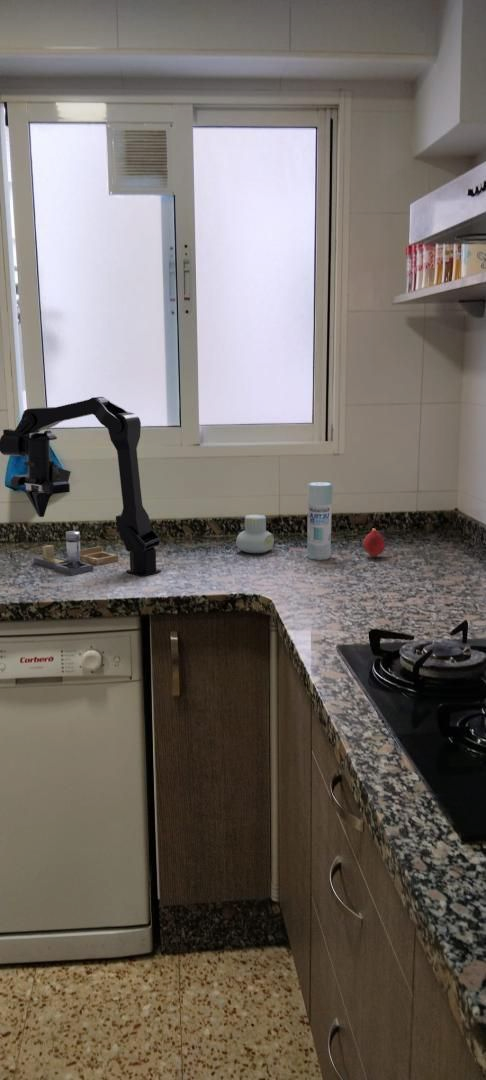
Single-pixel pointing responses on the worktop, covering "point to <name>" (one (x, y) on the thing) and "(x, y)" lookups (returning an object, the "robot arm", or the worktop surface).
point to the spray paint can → (319, 520)
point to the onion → (374, 543)
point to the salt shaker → (73, 549)
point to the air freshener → (255, 535)
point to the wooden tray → (97, 556)
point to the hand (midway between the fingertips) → (41, 516)
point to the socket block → (64, 566)
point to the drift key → (50, 554)
